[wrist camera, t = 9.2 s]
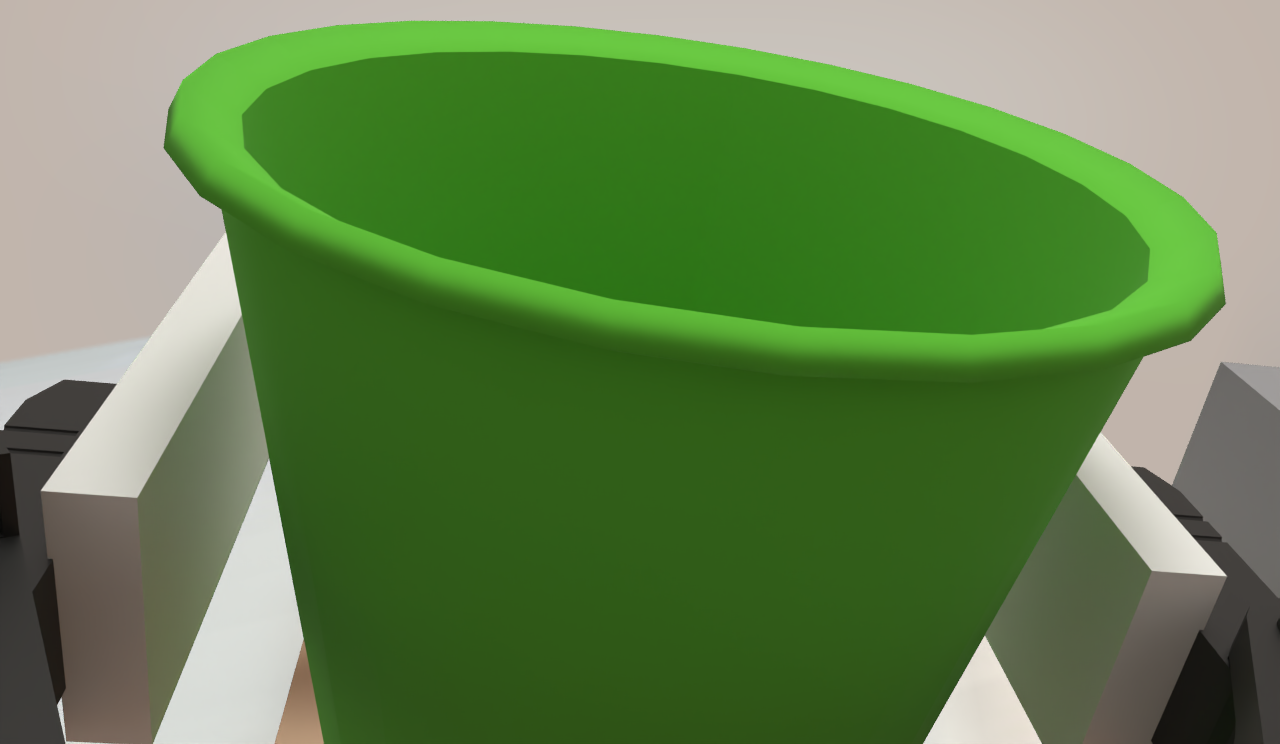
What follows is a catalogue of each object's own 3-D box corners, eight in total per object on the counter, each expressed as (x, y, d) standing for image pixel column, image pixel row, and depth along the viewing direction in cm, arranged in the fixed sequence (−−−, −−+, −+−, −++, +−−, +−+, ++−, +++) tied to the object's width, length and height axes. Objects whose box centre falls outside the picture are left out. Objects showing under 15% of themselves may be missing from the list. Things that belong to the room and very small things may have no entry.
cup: (31, 1230, 12) (-141, 162, 7) (371, 656, 20) (401, -13, 15) (933, 1483, 11) (1458, 472, 6) (898, 775, 19) (1108, 108, 14)
